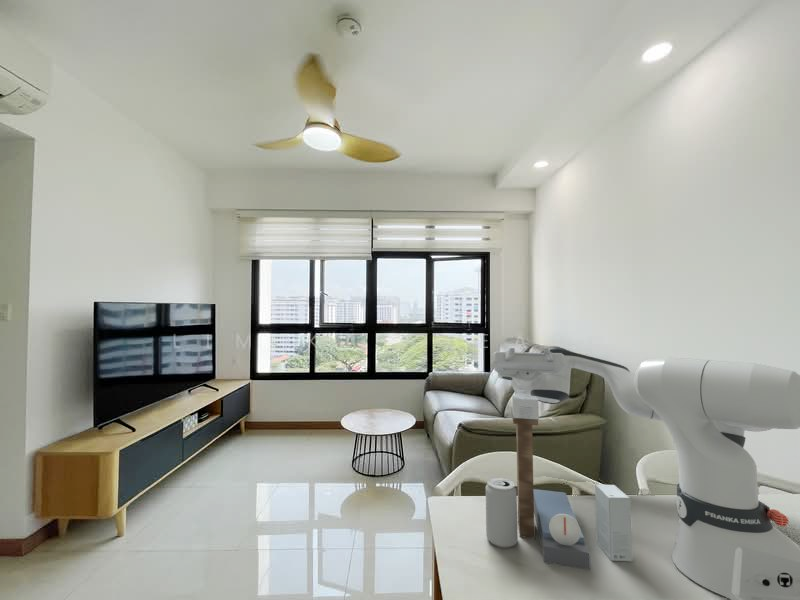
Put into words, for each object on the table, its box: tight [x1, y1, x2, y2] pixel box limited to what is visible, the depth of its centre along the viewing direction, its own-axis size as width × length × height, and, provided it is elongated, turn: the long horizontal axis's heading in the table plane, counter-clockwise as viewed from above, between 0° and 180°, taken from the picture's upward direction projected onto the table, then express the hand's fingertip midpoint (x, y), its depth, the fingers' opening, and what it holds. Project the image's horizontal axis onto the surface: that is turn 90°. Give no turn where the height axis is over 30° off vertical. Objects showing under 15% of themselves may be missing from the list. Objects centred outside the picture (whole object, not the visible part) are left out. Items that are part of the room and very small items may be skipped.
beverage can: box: [485, 476, 519, 549], centre depth 76 cm, size 6×6×12 cm
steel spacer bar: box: [511, 390, 540, 421], centre depth 84 cm, size 5×18×4 cm, turn 165°
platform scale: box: [533, 488, 591, 571], centre depth 79 cm, size 8×22×9 cm, turn 165°
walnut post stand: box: [510, 406, 539, 539], centre depth 79 cm, size 5×9×26 cm, turn 165°
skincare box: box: [594, 483, 633, 562], centre depth 72 cm, size 6×4×12 cm
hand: (529, 350), depth 101 cm, fingers open, 8 cm apart
